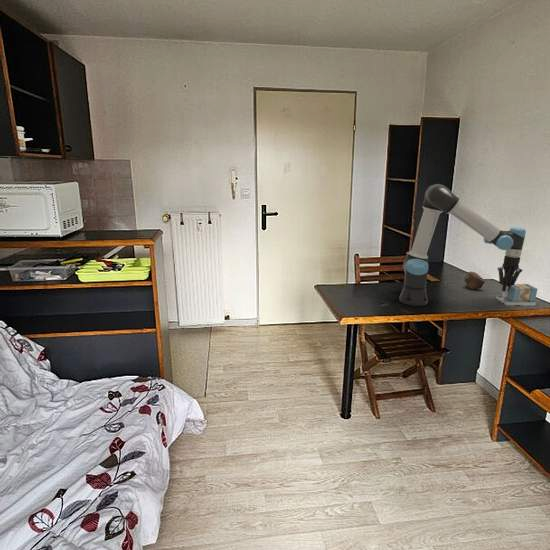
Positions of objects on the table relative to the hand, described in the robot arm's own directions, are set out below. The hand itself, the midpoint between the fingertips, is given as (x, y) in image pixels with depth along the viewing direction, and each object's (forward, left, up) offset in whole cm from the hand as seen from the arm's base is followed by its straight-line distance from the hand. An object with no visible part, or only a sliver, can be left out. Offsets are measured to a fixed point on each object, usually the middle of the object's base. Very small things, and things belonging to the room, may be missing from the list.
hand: (504, 296), depth 225 cm
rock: (-6, +25, -3) cm, 26 cm away
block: (+9, 0, -2) cm, 9 cm away
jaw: (+5, 0, -1) cm, 5 cm away
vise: (+7, 0, -3) cm, 8 cm away
